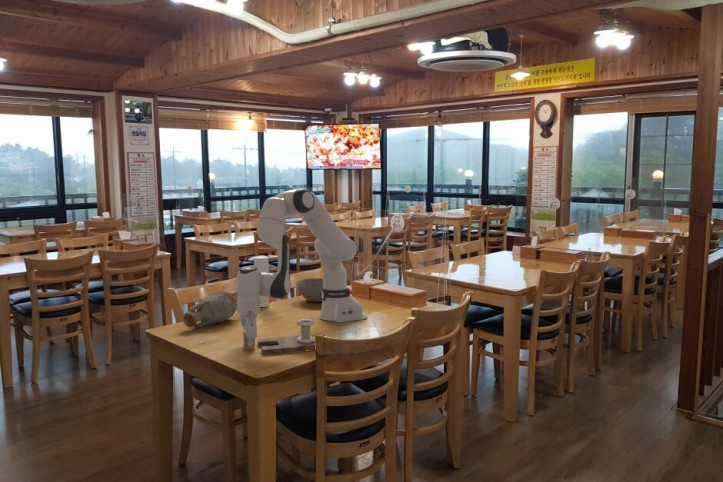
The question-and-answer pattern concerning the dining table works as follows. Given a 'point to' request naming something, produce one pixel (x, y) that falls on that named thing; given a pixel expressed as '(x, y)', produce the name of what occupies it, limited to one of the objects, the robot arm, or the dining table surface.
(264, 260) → the cylindrical container
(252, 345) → the tan wooden block
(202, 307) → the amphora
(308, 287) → the ceramic bowl
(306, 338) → the bobbin
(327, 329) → the dining table surface
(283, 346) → the notched board
